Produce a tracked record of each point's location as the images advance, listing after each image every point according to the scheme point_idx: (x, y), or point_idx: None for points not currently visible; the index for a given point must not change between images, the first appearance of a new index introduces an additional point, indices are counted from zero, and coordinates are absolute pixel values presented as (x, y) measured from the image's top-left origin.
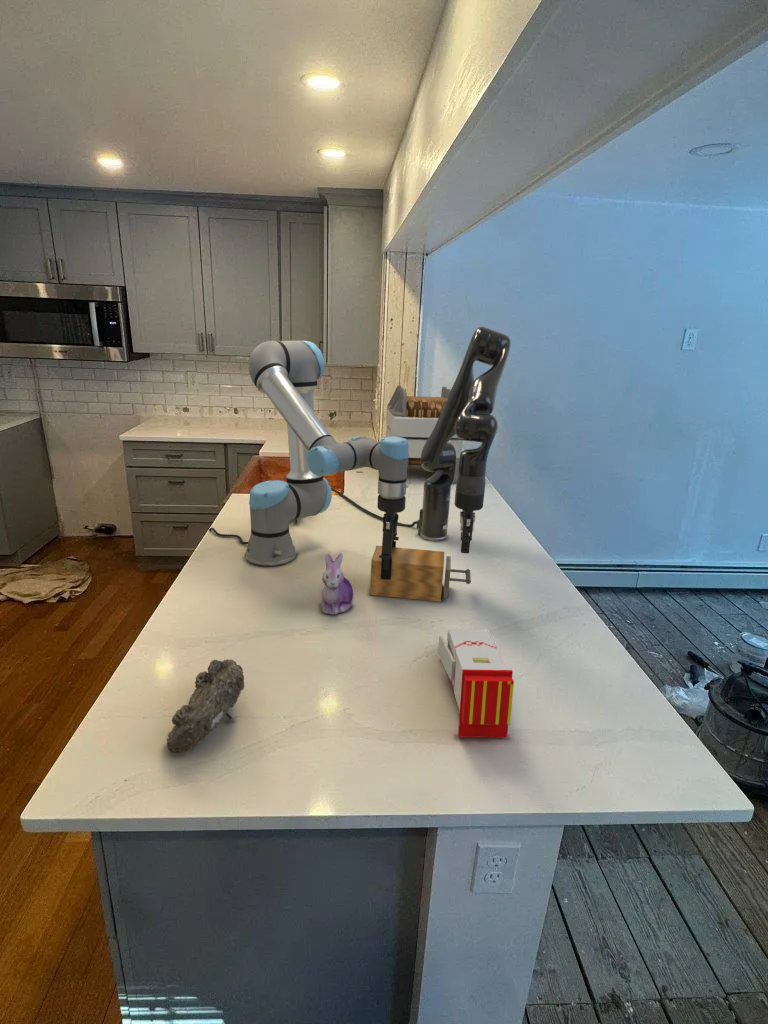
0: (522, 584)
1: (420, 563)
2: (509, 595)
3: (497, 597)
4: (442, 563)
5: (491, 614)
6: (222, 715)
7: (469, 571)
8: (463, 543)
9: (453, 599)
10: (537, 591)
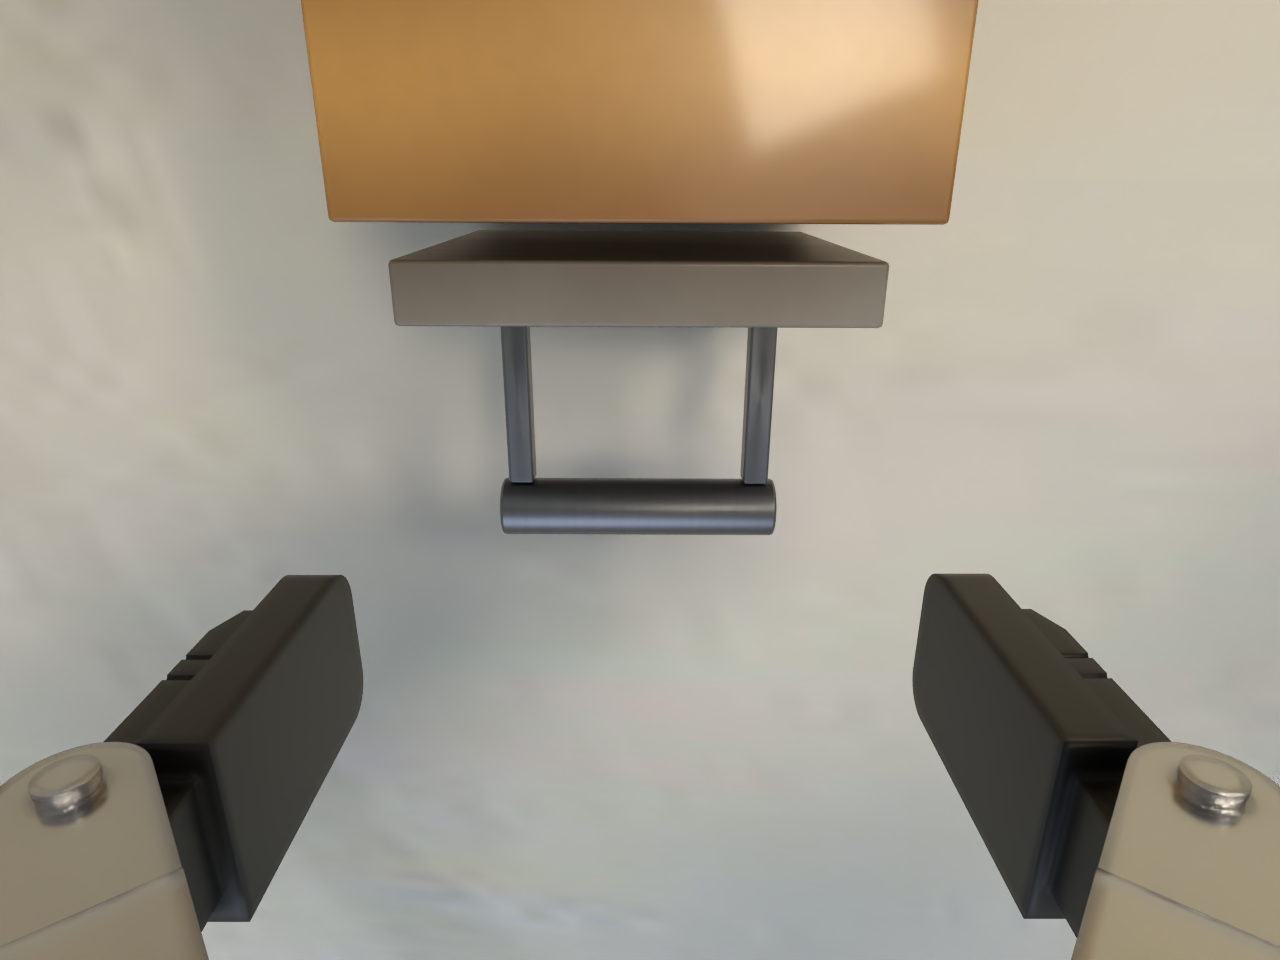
0: (897, 841)
1: None
2: (703, 747)
3: (653, 668)
4: (454, 198)
5: (369, 612)
6: None
7: (723, 530)
8: (107, 738)
9: None
10: (797, 913)
